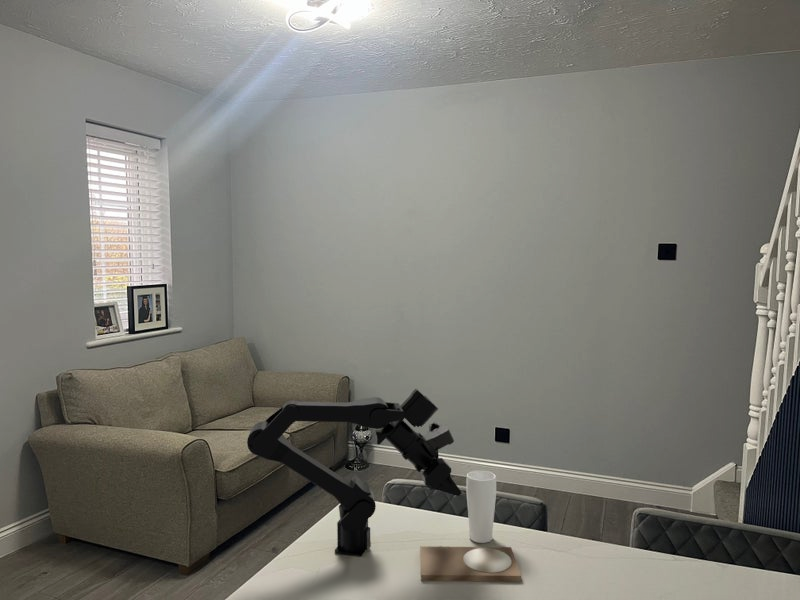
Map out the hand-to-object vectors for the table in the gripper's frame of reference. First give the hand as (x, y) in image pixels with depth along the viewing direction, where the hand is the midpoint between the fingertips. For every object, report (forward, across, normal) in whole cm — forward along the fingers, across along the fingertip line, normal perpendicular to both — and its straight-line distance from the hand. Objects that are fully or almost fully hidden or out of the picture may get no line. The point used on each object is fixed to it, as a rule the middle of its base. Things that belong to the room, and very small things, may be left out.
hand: (454, 486), depth 136 cm
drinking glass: (+14, 0, +5) cm, 14 cm away
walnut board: (+9, -11, +9) cm, 17 cm away
